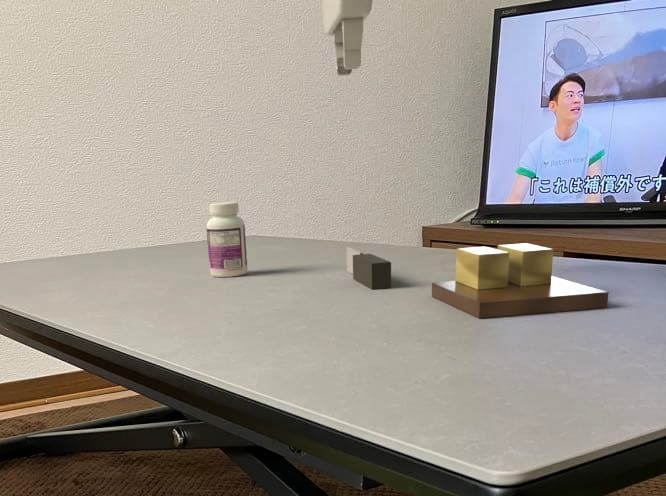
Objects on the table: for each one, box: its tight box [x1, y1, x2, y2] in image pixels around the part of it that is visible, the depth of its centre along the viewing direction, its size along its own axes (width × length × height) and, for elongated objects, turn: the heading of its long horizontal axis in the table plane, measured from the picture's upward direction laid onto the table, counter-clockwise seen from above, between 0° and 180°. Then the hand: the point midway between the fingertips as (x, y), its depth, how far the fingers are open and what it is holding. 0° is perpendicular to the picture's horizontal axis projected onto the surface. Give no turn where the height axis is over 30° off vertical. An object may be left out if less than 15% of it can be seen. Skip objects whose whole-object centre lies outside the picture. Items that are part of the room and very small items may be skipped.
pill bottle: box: [206, 201, 249, 278], centre depth 126 cm, size 5×5×10 cm
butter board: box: [431, 242, 610, 319], centre depth 93 cm, size 13×15×5 cm
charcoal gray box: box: [346, 246, 392, 290], centre depth 115 cm, size 18×2×3 cm, turn 8°
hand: (348, 72), depth 103 cm, fingers open, 8 cm apart
